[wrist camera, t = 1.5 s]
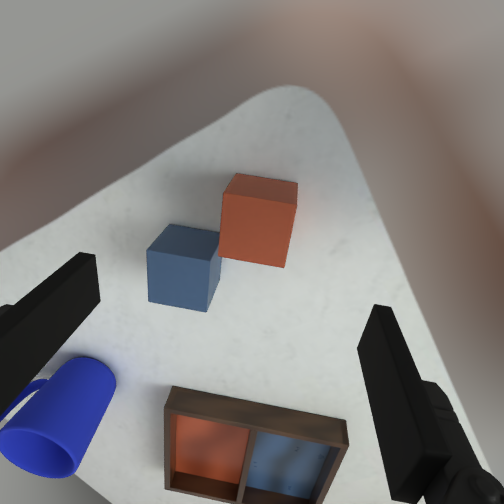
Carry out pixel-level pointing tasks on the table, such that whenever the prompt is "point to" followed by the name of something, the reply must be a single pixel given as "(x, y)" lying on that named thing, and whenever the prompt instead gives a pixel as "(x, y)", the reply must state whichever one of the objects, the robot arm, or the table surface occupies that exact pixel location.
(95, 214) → the table surface
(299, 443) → the tray
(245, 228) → the terracotta block
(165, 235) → the blue block
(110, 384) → the mug
